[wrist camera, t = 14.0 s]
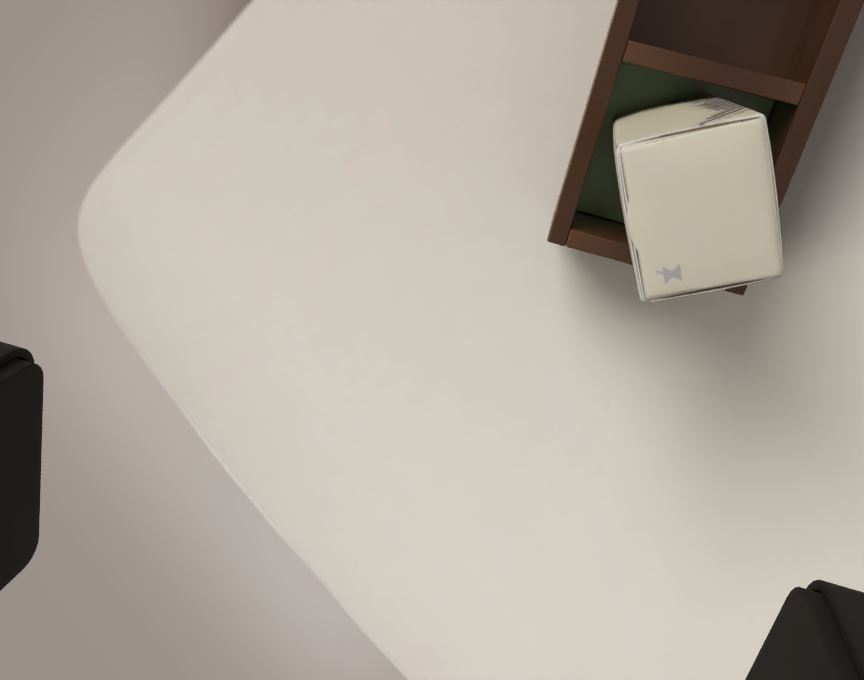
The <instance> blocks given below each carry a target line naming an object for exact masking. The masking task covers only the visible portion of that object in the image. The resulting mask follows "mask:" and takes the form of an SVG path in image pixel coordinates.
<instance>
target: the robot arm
mask: <svg viewBox="0 0 864 680" xmlns="http://www.w3.org/2000/svg"><path fill="white" fill-rule="evenodd" d="M42 411H43V371H42V369H41V367H40V366H38V365H37V364H34V359H33V356H32V354H31V353H30V352H29V351H28V350H27V349H24V348H20V347H17V346H13V345H10V344H7V343H3V342H0V590H2V589H3V588H4V587H5V586H6V585H7V584H8V583H9V582H10V581H11V580H12V579H13V578H14V577H15V576H16V575H17V574H18V573H19V572H21V570H22V569H24V567H25V566H26V565H27V564H28V563H29V561H30V560H31V558H32V557H33V555H34V552H35V550H36V547H37V544H38V538H39V514H40V479H41V476H40V475H41V445H42ZM745 680H864V593H863V592H860V591H856V590H853V589H849V588H846V587H843V586H839V585H836V584H832V583H829V582H825V581H822V580H816V581H813V582H812V583H811V584H810V585H808V587H807V588H806V589H804V588H801V587H796V588H794V589H793V590H792V591H791V592H790V593H789V595H788V597H787V598H786V600H785V602H784V604H783V606H782V608H781V610H780V612H779V614H778V616H777V618H776V620H775V622H774V624H773V626H772V628H771V630H770V632H769V634H768V636H767V638H766V640H765V642H764V644H763V646H762V648H761V650H760V652H759V654H758V656H757V658H756V660H755V662H754V664H753V666H752V668H751V670H750V672H749V673H748V675H747V677H746V679H745Z"/></svg>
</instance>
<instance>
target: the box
mask: <svg viewBox="0 0 864 680" xmlns="http://www.w3.org/2000/svg"><path fill="white" fill-rule="evenodd" d="M613 141H614V155H615V164H616V172H617V178H618V185H619V192H620V199H621V204H622V210H623V216H624V222H625V227H626V233H627V238H628V243H629V248H630V253H631V259H632V264H633V269H634V274H635V279H636V284H637V289H638V294H639V299H640V300H641V301H642V302H644V303H648V302H656V301H661V300H667V299H673V298H679V297H684V296H690V295H696V294H701V293H707V292H712V291H718V290H723V289H728V288H733V287H738V286H743V285H748V284H753V283H757V282H762V281H767V280H771V279H775V278H779V277H780V276H781V275H782V274H783V254H782V240H781V229H780V218H779V208H778V198H777V190H776V182H775V174H774V167H773V160H772V153H771V145H770V139H769V134H768V128H767V121H766V118H765V116H764V115H763V114H761V113H759V112H757V111H754V110H751V109H749V108H746V107H743V106H740V105H737V104H735V103H732V102H730V101H727V100H724V99H722V98H719V97H716V96H714V95H711V94H704V95H699V96H694V97H689V98H685V99H680V100H675V101H670V102H666V103H661V104H657V105H653V106H649V107H645V108H641V109H637V110H634V111H630V112H627V113H623V114H620V115H617V116H615V117H614V119H613Z"/></svg>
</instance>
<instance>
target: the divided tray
mask: <svg viewBox="0 0 864 680" xmlns="http://www.w3.org/2000/svg"><path fill="white" fill-rule="evenodd" d="M863 3H864V0H617V3H616V6H615V9H614V13H613V16H612V20H611V23H610V26H609V30H608V33H607V36H606V40H605V43H604V47H603V50H602V53H601V57H600V60H599V63H598V67H597V70H596V74H595V77H594V80H593V84H592V87H591V90H590V94H589V97H588V101H587V104H586V107H585V111H584V114H583V117H582V121H581V124H580V128H579V131H578V134H577V138H576V141H575V144H574V148H573V151H572V155H571V158H570V161H569V165H568V168H567V171H566V175H565V178H564V182H563V185H562V188H561V192H560V195H559V198H558V202H557V205H556V209H555V212H554V215H553V219H552V223H551V227H550V231H549V235H548V239H547V241H548V242H551V243H555V244H558V245H562V246H565V245H566V246H567V247H569V248H573V249H576V250H580V251H584V252H587V253H591V254H595V255H598V256H602V257H605V258H609V259H613V260H616V261H620V262H624V263H627V264H631V265H633V264H632V259H631V253H630V248H629V243H628V238H627V233H626V227H625V222H624V216H623V210H622V204H621V199H620V192H619V185H618V178H617V172H616V164H615V155H614V141H613V119H614V117H615V116H617V115H620V114H623V113H627V112H630V111H634V110H637V109H641V108H645V107H649V106H653V105H657V104H661V103H666V102H670V101H675V100H680V99H685V98H689V97H694V96H699V95H704V94H711V95H714V96H716V97H719V98H722V99H724V100H727V101H730V102H732V103H735V104H737V105H740V106H743V107H746V108H749V109H751V110H754V111H757V112H759V113H761V114H763V115H764V116H765V118H766V121H767V128H768V134H769V139H770V145H771V153H772V160H773V167H774V174H775V182H776V190H777V198H778V208H780V205H781V203H782V200H783V198H784V195H785V193H786V191H787V188H788V186H789V183H790V181H791V178H792V176H793V173H794V171H795V169H796V166H797V164H798V161H799V159H800V156H801V154H802V152H803V149H804V147H805V144H806V142H807V139H808V137H809V135H810V132H811V130H812V127H813V125H814V122H815V120H816V118H817V115H818V113H819V110H820V108H821V105H822V103H823V100H824V98H825V96H826V93H827V91H828V88H829V86H830V83H831V81H832V79H833V76H834V74H835V71H836V69H837V66H838V64H839V62H840V59H841V57H842V54H843V52H844V49H845V47H846V44H847V42H848V40H849V37H850V35H851V32H852V30H853V27H854V25H855V23H856V20H857V18H858V15H859V13H860V10H861V8H862V6H863ZM746 288H747V285H743V286H738V287H733V288H728V289H723V290H725V291H728V292H732V293H735V294H739V295H744V293H745V290H746Z"/></svg>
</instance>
